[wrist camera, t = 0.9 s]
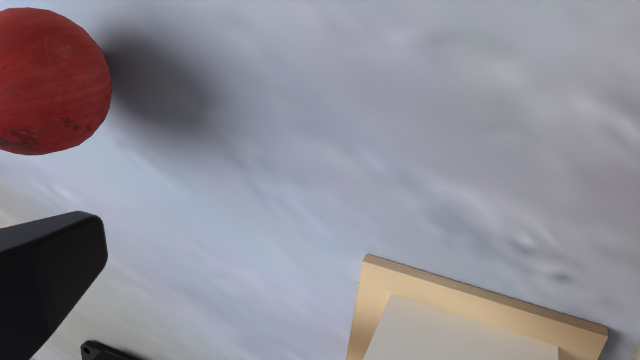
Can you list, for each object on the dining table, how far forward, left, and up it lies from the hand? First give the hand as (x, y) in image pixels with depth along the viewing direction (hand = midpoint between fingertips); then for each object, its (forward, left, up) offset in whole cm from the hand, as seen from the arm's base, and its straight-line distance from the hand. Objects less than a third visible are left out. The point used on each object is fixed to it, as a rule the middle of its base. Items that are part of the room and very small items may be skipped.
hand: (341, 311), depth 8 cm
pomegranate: (-2, +16, -14) cm, 21 cm away
